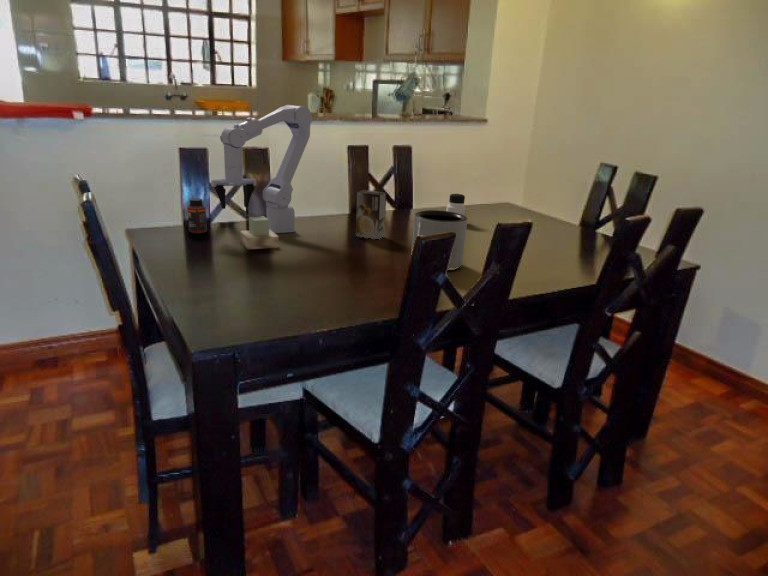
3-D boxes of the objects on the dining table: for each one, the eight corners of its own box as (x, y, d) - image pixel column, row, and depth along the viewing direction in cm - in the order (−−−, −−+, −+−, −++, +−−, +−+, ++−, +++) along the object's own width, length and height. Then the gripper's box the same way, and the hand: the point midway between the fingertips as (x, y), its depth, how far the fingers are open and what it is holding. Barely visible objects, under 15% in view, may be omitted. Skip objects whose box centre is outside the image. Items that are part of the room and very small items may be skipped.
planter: (433, 255, 184) (437, 207, 178) (472, 267, 173) (478, 217, 168) (399, 263, 173) (403, 213, 168) (439, 276, 162) (444, 223, 157)
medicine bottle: (464, 225, 227) (467, 196, 223) (446, 224, 227) (449, 195, 223) (462, 221, 234) (465, 193, 230) (445, 220, 234) (447, 192, 230)
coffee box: (385, 236, 202) (387, 192, 197) (378, 240, 197) (381, 194, 191) (361, 233, 206) (364, 189, 200) (354, 236, 200) (356, 191, 195)
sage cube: (264, 231, 185) (263, 216, 183) (269, 234, 181) (269, 219, 179) (249, 232, 183) (248, 217, 181) (254, 236, 179) (253, 220, 177)
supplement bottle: (209, 230, 196) (208, 198, 192) (202, 234, 190) (201, 201, 186) (193, 229, 196) (191, 196, 192) (185, 233, 191) (183, 200, 187)
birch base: (270, 240, 190) (270, 229, 188) (278, 248, 181) (278, 236, 180) (240, 242, 185) (240, 230, 184) (247, 250, 177) (247, 238, 176)
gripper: (214, 168, 176) (216, 211, 180) (259, 167, 183) (260, 208, 188) (208, 165, 181) (210, 206, 186) (252, 164, 189) (252, 204, 193)
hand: (234, 207), depth 187 cm, fingers open, 7 cm apart
